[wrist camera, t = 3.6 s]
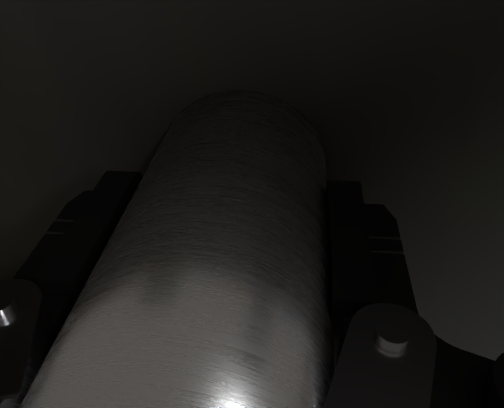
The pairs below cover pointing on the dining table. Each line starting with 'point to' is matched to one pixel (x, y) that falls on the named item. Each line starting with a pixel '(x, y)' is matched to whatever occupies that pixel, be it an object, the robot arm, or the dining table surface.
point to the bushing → (208, 274)
